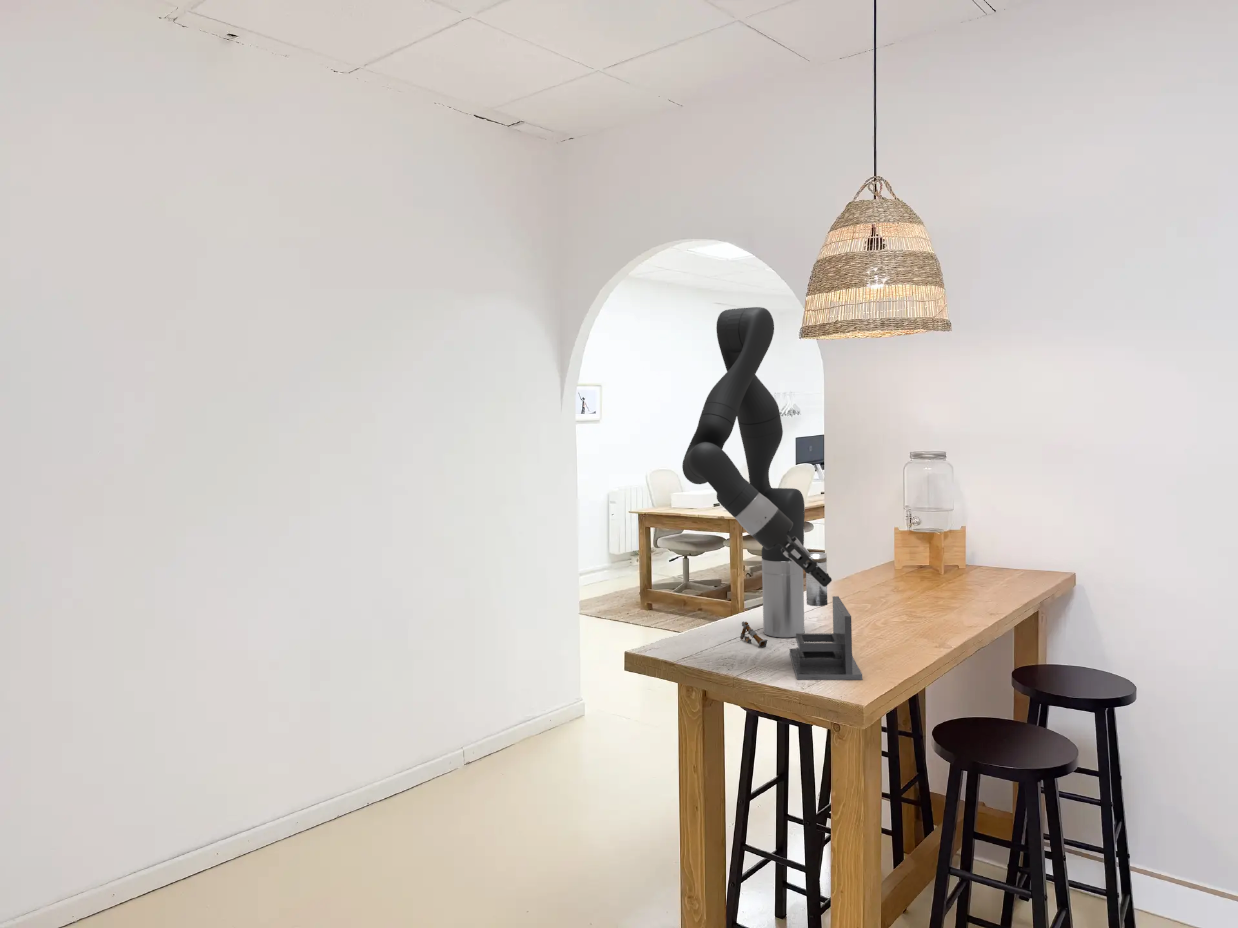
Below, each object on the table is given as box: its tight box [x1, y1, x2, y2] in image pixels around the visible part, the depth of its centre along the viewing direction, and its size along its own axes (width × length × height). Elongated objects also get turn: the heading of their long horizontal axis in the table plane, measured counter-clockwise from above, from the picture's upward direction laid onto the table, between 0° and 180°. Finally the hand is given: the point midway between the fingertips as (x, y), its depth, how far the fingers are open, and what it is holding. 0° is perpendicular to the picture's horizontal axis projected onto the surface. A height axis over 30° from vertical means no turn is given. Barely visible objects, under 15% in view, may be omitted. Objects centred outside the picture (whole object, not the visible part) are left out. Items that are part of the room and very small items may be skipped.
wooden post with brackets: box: [739, 621, 768, 649], centre depth 188 cm, size 2×8×4 cm, turn 29°
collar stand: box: [789, 595, 863, 681], centre depth 169 cm, size 18×12×12 cm, turn 173°
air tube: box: [805, 551, 829, 607], centre depth 169 cm, size 4×4×10 cm
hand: (826, 580), depth 168 cm, fingers closed on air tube, 4 cm apart
